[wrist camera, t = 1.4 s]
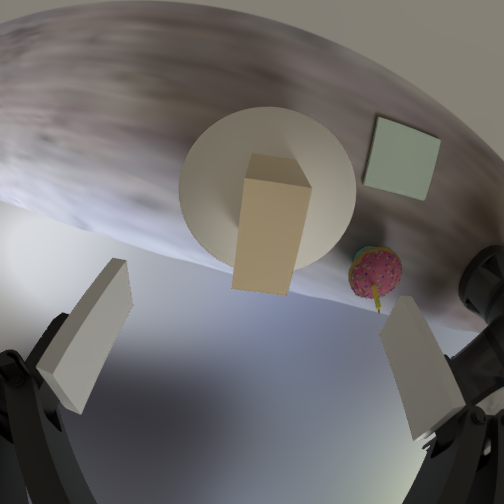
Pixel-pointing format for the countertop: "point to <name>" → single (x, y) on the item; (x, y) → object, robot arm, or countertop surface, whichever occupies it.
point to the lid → (267, 194)
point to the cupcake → (374, 272)
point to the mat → (401, 160)
